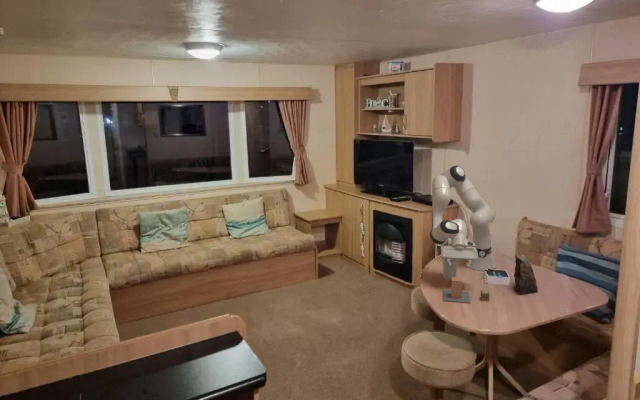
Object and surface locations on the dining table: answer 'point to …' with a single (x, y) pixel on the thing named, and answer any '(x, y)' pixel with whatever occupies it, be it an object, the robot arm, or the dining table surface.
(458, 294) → the tan rectangular pillar
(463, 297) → the grey mat
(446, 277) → the supplement box
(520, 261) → the dark brown rock
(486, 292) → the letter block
